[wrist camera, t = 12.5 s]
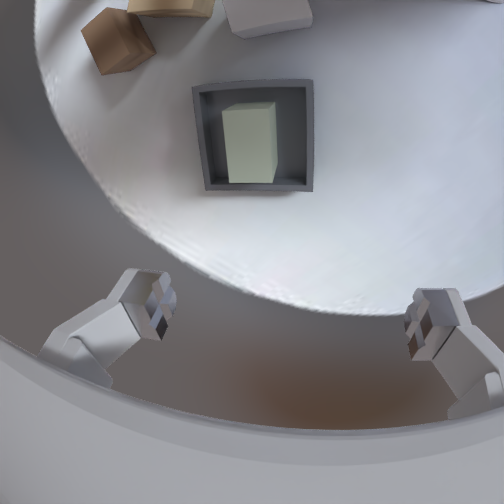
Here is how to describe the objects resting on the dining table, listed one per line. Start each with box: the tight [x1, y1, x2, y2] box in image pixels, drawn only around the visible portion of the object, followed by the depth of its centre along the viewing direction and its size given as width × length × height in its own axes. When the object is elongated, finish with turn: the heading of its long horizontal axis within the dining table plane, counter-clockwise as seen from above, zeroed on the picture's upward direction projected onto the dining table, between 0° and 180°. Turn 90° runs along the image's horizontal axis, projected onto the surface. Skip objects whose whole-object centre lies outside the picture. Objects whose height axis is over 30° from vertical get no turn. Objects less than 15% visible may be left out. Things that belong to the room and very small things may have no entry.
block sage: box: [222, 102, 278, 183], centre depth 22 cm, size 6×4×5 cm, turn 3°
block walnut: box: [81, 7, 156, 75], centre depth 18 cm, size 6×4×5 cm, turn 23°
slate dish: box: [192, 79, 314, 192], centre depth 24 cm, size 10×10×2 cm
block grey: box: [222, 0, 313, 39], centre depth 16 cm, size 6×4×5 cm, turn 103°
